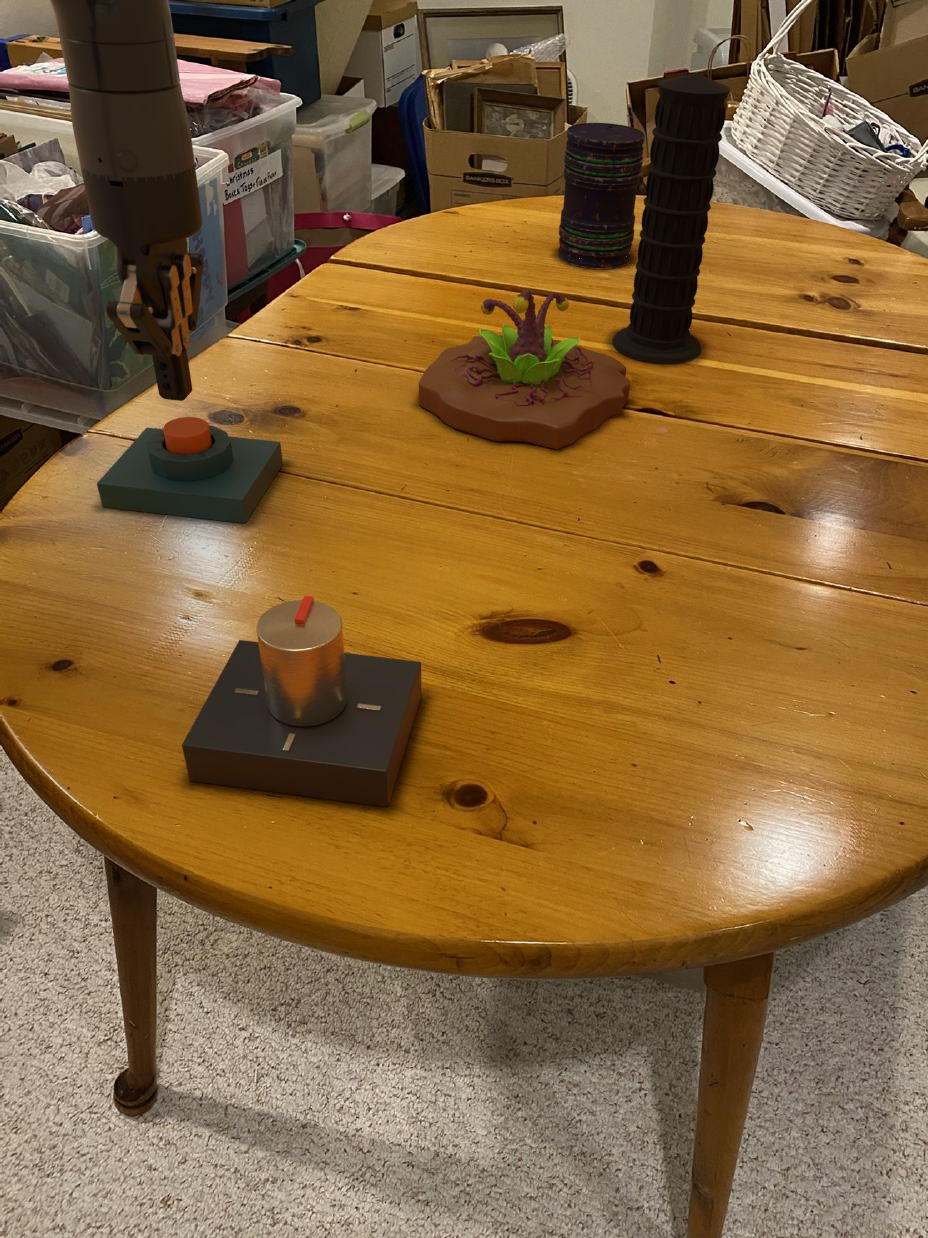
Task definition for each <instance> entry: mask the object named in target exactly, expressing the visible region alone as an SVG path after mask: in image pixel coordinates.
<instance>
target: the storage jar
mask: <svg viewBox="0 0 928 1238" xmlns="http://www.w3.org/2000/svg"><path fill="white" fill-rule="evenodd" d="M566 138H567V141H565V142H566V143H565V151H564V157H563V158H564V159H563V163H564V168H563V179H564V195H563V204H562V205H563V208H562V209H561V211H560V223H559V225H558V226H559V227H558V236H559V238H558V243H559V248H558V251H557V255H558V258H559V259H560V260H561V261H562V262H564V263H565V264H569V265H570V266H574V267H578V268H582V269H590V270H614V269H618V268H622V267H625V266H627V265H628V264H629V263H630V262H631V257H632V254H631V250H632V247H633V242H634V239H635V224H636V223H635V222H636V215H635V208H636V200H637V192H638V185H640V180H641V178H642V176H641V175H642V173H641V170H642V169H643V161H644V157H643V155H644V144H645V141H646V140H645V138H646V134H645V132H643V130H641V129H639V128H636V127H633V126H629V125H624V124H618V123H608V122H583V123H576V124H572V125H570V126H568V127H567V129H566ZM629 253H630V254H629ZM626 256H627V257H626ZM579 258H580V259H579Z"/></svg>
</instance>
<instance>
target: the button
mask: <svg viewBox="0 0 928 1238" xmlns="http://www.w3.org/2000/svg"><path fill="white" fill-rule="evenodd" d="M209 425H210V424H209V422H208V421H207V420H205V419H203V418H200V417H195V416H182V417H177V418H174V419H171V420H169V421H168V422H166V423H165V424H164V425H163V427H162V429H163V431H164V437H165V442H166V447H167V450H168V451H169V452H171V453H175V454H184V455H187V454H194V453H201V452H203V451H205V450H207V449H210V448H211V446H212V441H211V434H210V428H209Z"/></svg>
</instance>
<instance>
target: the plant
mask: <svg viewBox="0 0 928 1238" xmlns="http://www.w3.org/2000/svg"><path fill="white" fill-rule="evenodd" d="M554 299H555V306H556V308H557V310H558V311H561V312H565V311H567V310H568V309H569V307H570V303H569V299H568V298H567V297H566V296H565V295H563V294H562V293H558V292H555V291H553V292H551V293H550V294H548V296H547V297H545V300H544V299H543V301H542V302H543V303H542V304H541V305H540V308H539V309H538V311H537V314H536V303H535V302H534V300H535V297H534V295H533V294H532V292H531V290H530V289H527V290H524V291H521V292H520V293H519V294H516V296H515V298H514V299H513V302H512V307H511V306H510V305H508V304H507V303H505V302H502V301H501V300H497V299H492V298H487V299H484V300H483V301H481V304H480V310H481V312H482V313H483V315H487V316H489V315H492V314H493V313H494V311H495V307H497V308H499V309H501V310H503V311H504V313H506V314H507V316H508V317H509V318H510V319H511V321H512V322H513V323H514V326H515V327H516V329H517V330H515V329H514V328H512V327H511V326H510V325H508V324H502V326H501V332H502V334H497V333H496V332H494V331H492V330H488V329H482V328H479V330H478V334H479V335H477V336H473V337H472V338H471V340H470V341H469V342H467V343H464V344H461V345H457V346H453V347H448V348H445V349H444V350H442V351H441V352H440V354H439V356H438V357H437V358H436V359H435V360H434V361H433V362H432V363H431V364H430V365H428V367H427V368H426V369H425V370H424V372H423V374H422V375H421V376H420V379H419V381H418V405H419V406H420V407H422V408H424V409H425V410H427V411H429V412H431V413H433V414H434V415H436V416H437V417H439V419H440V420H441V421H442V422H443V423H445V424H446V425H448V426H450V427H452V428H454V429H457V430H459V431H462V432H465V433H469V434H472V435H474V436H475V435H476V436H478V437H480V438H484V439H487V440H490V441H494V442H510V441H511V442H524V443H530V444H534V445H538V446H542V447H545V448H550V449H552V450H553V449H554V450H559V449H561V448H563V447H565V446H569V445H572V444H574V443H575V442H576V441H577V440H578V439H579V438H580V437H582V436H583V435H585V434H588V433H590V432H593V431H594V430H596V429H597V428H598V427H599V426H600V425H601V424H602V423H603V422H604V421H605V420H607V419H608V418H610V417H613V416H617V415H621V414H623V411H624V406H625V405H626V404H627V403H628V401H629V397H630V396H629V395H630V388H631V380H630V379H629V378H627V377H626V375H627V367H626V365H624V364H623V363H622V362H620V361H619V360H618V359H616V358H614V357H612V356H610V355H607V354H606V353H602V352H599V351H594V350H590V349H587V348H585V347H582V346H579V343H581V337H570V338H566V339H563V340H560V339H554V337H553V333H554V332H553V328H552V326H550V325H548V326H545V324H546V318H547V313H548V310H549V307H550V304H551V303H552V301H554ZM520 314H524V319H522V317H520Z"/></svg>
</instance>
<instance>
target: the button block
mask: <svg viewBox="0 0 928 1238" xmlns="http://www.w3.org/2000/svg"><path fill="white" fill-rule="evenodd" d="M209 428H210V434H211V441H212V446H211V448H210V449H207V450H205V451H203V452H201V453H194V454H187V455H184V454H175V453H171V452H169V451H168V450H167V447H166V442H165V437H164V431H163V428H156V427H146V428H145V429H144V430H143V431H142V432H141V433H140V434H139V435H138V437H137V438H136V439H135V440H133V442H132V443H131V444H130V445H129V447H128V448H127V449H126V450H125V451H124V452H123V453H122V454H121V456H120V457H119V458H118V459H117V460H116V461H115V463H114V464H112V466H111V467H110V468H109V469H108V470H107V471H106V472H105V473H104V475H103V476H102V477H101V478H100V479H99V480H98V481H97V482H96V487H97V490H98V495H99V499H100V503H101V506H102V508H106V509H107V508H108V509H117V510H126V511H135V512H143V513H151V514H161V515H168V516H169V515H170V516H177V517H178V516H179V517H184V518H185V517H187V518H196V519H204V520H213V521H221V522H230V523H239V524H246V523H247V522H248V521H249V519H250V517H251V516H252V515H253V512H254V511H255V509H256V508H257V506H258V504H259V503H260V501H261V500H262V498H263V497H264V496H265V494H266V492H267V490H268V489H269V487H270V486H271V484H272V483H273V481H274V479H275V478H276V476H277V475H278V473H279V472H280V470H281V469H282V466H283V464H284V462H283V454H282V443H281V441H275V440H265V439H256V438H247V437H241V436H239V437H237V436H229V434H228V432H227V431H225V430H224V429H222V428H218V427H217V426H215V425H210V424H209Z"/></svg>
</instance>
